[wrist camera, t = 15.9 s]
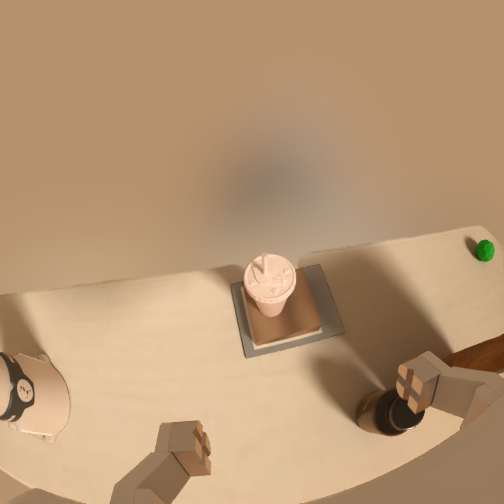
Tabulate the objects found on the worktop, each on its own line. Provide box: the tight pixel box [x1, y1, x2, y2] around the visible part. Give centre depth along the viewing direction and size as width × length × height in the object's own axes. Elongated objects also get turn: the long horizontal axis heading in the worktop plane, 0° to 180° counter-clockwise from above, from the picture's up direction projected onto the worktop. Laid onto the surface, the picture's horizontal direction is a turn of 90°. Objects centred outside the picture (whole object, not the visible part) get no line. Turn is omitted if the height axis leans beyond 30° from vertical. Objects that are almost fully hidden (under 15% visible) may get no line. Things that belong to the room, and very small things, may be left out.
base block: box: [242, 268, 322, 346], centre depth 42 cm, size 10×10×3 cm
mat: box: [231, 264, 344, 358], centre depth 44 cm, size 16×13×1 cm
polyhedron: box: [476, 240, 495, 262], centre depth 44 cm, size 5×5×5 cm
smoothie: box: [244, 253, 296, 317], centre depth 35 cm, size 6×6×14 cm
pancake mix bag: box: [442, 334, 504, 374], centre depth 23 cm, size 7×19×28 cm, turn 104°
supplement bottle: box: [356, 388, 425, 436], centre depth 28 cm, size 7×7×12 cm
